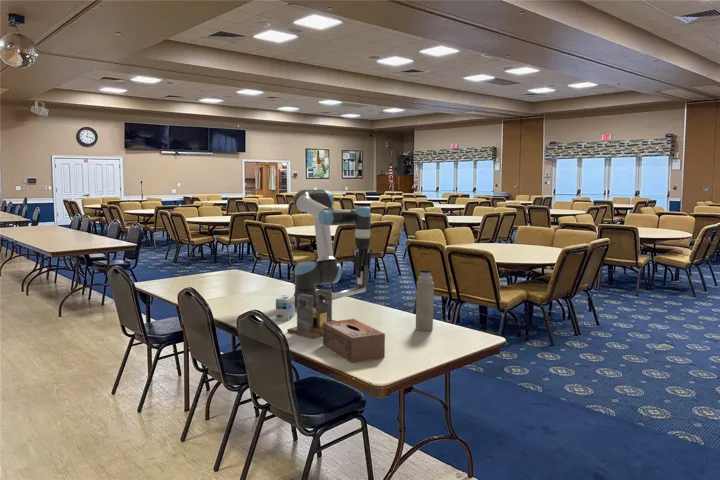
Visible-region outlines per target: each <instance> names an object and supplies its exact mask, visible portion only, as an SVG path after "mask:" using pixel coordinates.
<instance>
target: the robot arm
mask: <svg viewBox="0 0 720 480" xmlns="http://www.w3.org/2000/svg"><path fill="white" fill-rule="evenodd" d="M292 204H293V206H294V207H295V209H297V210H298V211H300V212H302V213H304V212H305V213H307V214H309V215H311V216H312V217H313V222H314V223H313V224H314V230H315V231H314V232H315V234H314V235H315V241H316V242H315V243H316V250H317V259H316V261H304V262H300V263H297V264H296V265H295V267H294V293H293V296H295V307H296V308H297V294H307V295H313V308H314V307H316V290H317V286H320V285H331V284H336V283H338V282H339V281H340V280H341V278H342V272H343V271H342V266H341V263H339V262H338V261H337V258H336V257H335V256H334V250H333V242H332V241H333V240H332V232H331V226H337V225H341V226H342V225H343V226H344V225H354V226H355V227H354V228H355V230H354V231H355V233H354V237H355V238H354V239H355V241H354V244H355V246H356V248H355V250H353V251H352V255H353V270H354V271H355V272H356V271H357V284H362V276H363V271H362V264H363V265H368V271H370V270H371V260H372V251H373V250H372V249H371V248H369V246H370V245H371V238H370V237H371V217H372V214H371V208H370V207H369V206H356V207H355V209H351V208H350V209H349V208H348V209H333V208H334V204H335V201H334V196H333V194H332V193H331V192H330V191H329V190H328V189H322V188H321V189H302V190H298V192H296V193H295V194H294V196H293V200H292ZM304 306H306V301H305V300H304Z"/></svg>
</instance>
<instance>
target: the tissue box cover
mask: <svg viewBox="0 0 720 480" xmlns="http://www.w3.org/2000/svg"><path fill="white" fill-rule="evenodd" d="M385 343H386V333H385V332H382V331H381V330H379V329H376V328H375V327H372V326H370V325H367V324H366V323H364V322H362V321H359V320H357V319H354V318H348V319H339V320H335V321H332V322H323V336H322V346H323V347H324V348H327V349H329V350H330V351H332V352H334V353H335V354H336V355H338V356H340V357H341V358H343V359H345V360H346V361H348V362H349V363H351V364H355V363H356V364H357V363H362V362H367V361H373V360H378V359H385V354H386V353H385V350H386V347H385V345H386V344H385Z"/></svg>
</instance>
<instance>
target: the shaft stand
mask: <svg viewBox="0 0 720 480" xmlns="http://www.w3.org/2000/svg"><path fill="white" fill-rule="evenodd" d="M332 293H333V291H332V290H327V289H321V288H320V289H316V306H315V307H316V308H315V310H318V311H323V312H327V322H332V321H336V320H335V319H333V312H332V311H333V300H332ZM323 296H325V301H324V300H323ZM304 300H305V301H306V306H304ZM313 311H314V307H313V295H307V294H297V307H296V326H293V327H291V328H287V333H289V334H293V335H297V336H301V337H304V338H305V337H306V338H309V339H317V338H320V337H323V328H322V329H317V326H314V327H313Z"/></svg>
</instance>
